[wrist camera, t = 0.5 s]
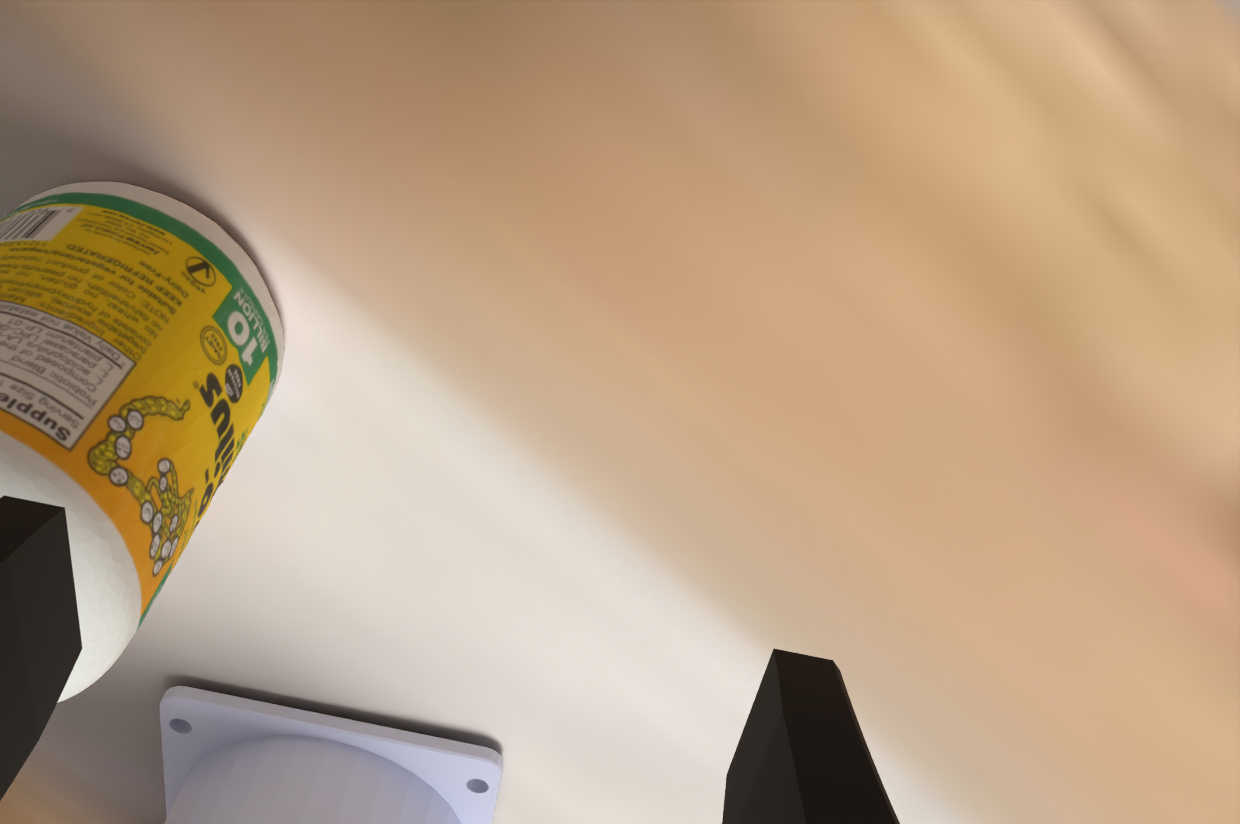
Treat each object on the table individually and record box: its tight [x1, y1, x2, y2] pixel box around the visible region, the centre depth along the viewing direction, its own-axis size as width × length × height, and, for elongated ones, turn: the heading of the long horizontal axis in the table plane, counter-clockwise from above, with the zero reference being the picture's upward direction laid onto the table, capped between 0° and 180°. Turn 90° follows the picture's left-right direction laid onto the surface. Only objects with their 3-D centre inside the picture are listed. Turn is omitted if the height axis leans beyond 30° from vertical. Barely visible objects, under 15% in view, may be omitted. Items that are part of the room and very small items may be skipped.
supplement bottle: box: [0, 182, 285, 703], centre depth 18 cm, size 5×5×10 cm
